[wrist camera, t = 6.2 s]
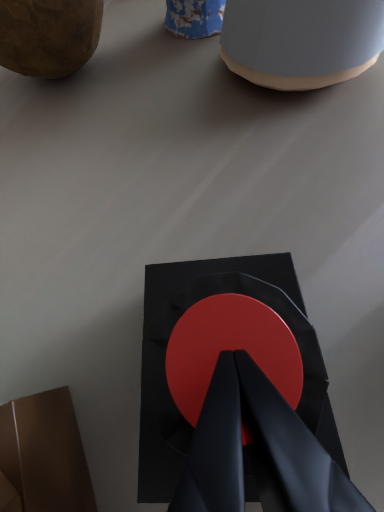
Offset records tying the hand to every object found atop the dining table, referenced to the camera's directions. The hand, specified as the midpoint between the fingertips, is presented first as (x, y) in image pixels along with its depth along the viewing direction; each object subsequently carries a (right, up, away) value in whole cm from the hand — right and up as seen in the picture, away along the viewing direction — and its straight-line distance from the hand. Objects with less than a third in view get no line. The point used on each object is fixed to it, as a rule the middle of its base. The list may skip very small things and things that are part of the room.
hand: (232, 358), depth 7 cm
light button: (0, -1, +2) cm, 3 cm away
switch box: (+1, -3, +8) cm, 9 cm away
